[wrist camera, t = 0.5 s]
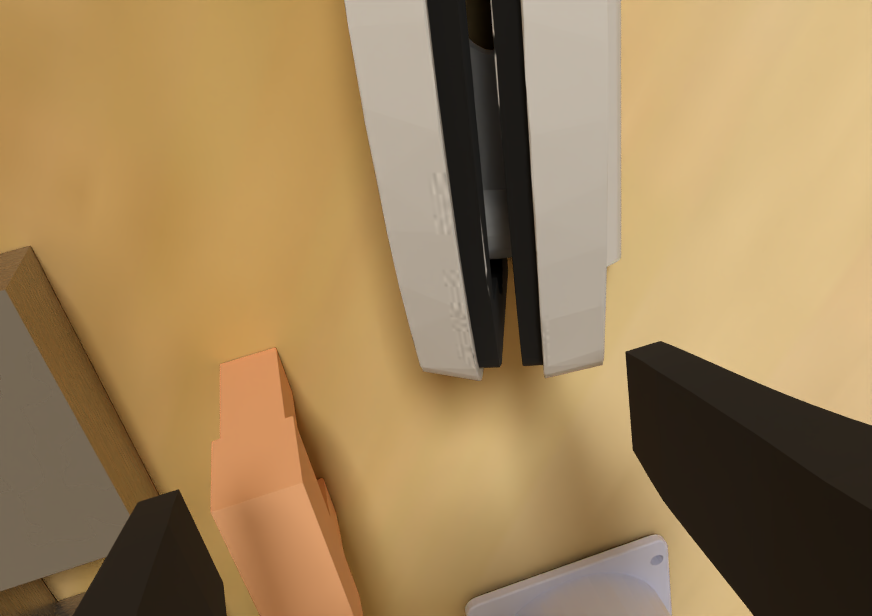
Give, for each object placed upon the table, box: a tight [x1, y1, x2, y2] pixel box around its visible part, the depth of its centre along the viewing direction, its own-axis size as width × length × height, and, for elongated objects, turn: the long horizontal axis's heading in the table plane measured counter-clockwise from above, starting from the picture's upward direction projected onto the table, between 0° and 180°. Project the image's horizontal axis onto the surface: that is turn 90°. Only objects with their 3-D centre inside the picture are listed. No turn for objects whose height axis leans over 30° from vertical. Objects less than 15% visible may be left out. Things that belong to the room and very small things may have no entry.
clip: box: [211, 347, 363, 616], centre depth 20 cm, size 7×2×6 cm, turn 11°
